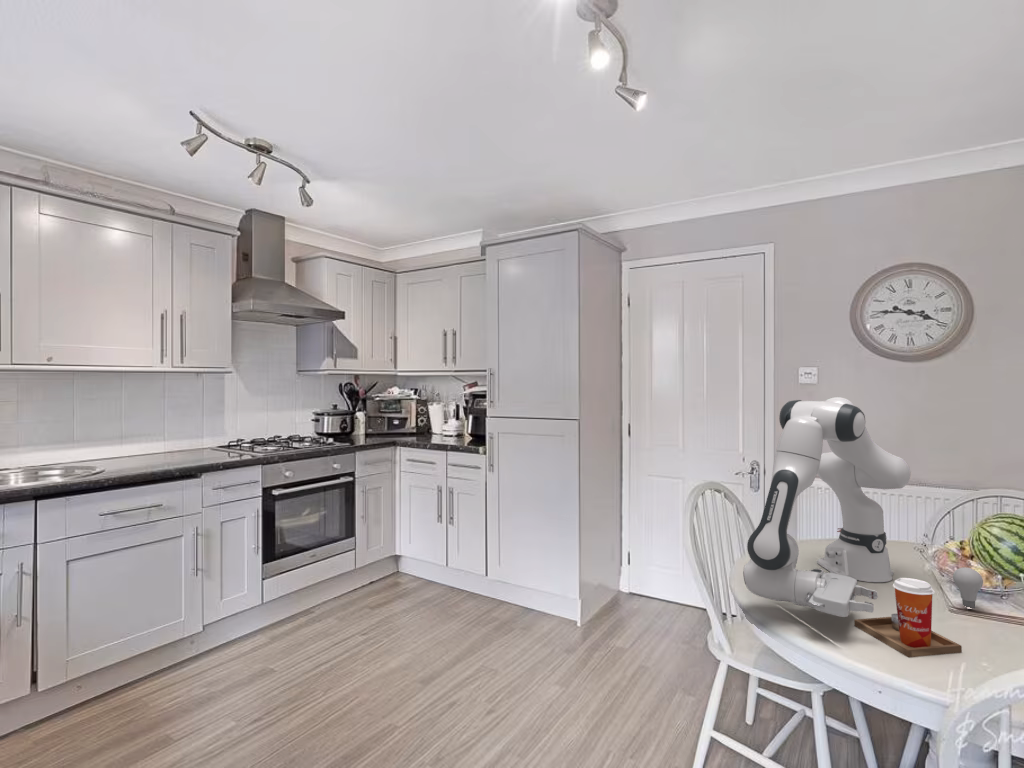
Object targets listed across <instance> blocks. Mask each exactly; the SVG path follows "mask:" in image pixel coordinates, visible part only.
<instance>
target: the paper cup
mask: <svg viewBox="0 0 1024 768" xmlns="http://www.w3.org/2000/svg"><path fill="white" fill-rule="evenodd" d="M892 587H893V588H894V596H895V597H894V598H895V604H896V614H897V615H898V624H899V633H900V639H901V642H902V643H903V644H905V645H907V646H910V647H913V648H918V647H929V646H931V631H932V623H933V622H932V621H933V619H932V618H933V617H932V615H933V595H934V594H935V593H936V592H935V590H934V589H933V587H932V585H931V584H930V583H929V582H927V581H925V580H922V579H916V578H913V577H912V578H909V577H899V578H897V579H895V580H894V582H893V584H892Z"/></svg>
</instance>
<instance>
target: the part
mask: <svg viewBox="0 0 1024 768" xmlns="http://www.w3.org/2000/svg"><path fill="white" fill-rule="evenodd" d="M890 617H892V628H893V629H894V630H897V631H899V624H898V615H897V613H892V614H891V616H890Z"/></svg>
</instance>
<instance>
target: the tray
mask: <svg viewBox="0 0 1024 768" xmlns="http://www.w3.org/2000/svg"><path fill="white" fill-rule="evenodd" d="M853 623H854V627H855V628H858V629H860V630H861V631H863V632H864V633H866V634H867V635H870V636H871V637H873V638H874V639H876V640H878V641H880V642H882V643H883V644H885V645H886V646H888V647H890V648H892V649H894V650H895V651H897V652H899V653H900V654H902V655H904V656H905V657H907V658H916V657H917V658H918V657H927V656H928V657H929V656H940V655H949V654H950V655H952V654H962V653H963V652H962V651H963V649H962V648H963V646H962V645H961V644H960V643H957V642H956V641H953V640H951V639H949V638H947V637H945V636H943V635H942V634H940V633H937V632H936V631H933V630H931V646H929V647H918V648H913V647H910V646H907V645H905V644H903V643H902V642H901V639H900V633H899V631H897V630H894V629H893V628H892V616H883V617H870V618H858V619H857V618H856V619H854V622H853Z"/></svg>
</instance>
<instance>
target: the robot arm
mask: <svg viewBox="0 0 1024 768" xmlns="http://www.w3.org/2000/svg"><path fill="white" fill-rule="evenodd" d="M778 416H779V425H780V427H781V429H782V432H781V434H780V436H779V438H778V443H777V447H776V450H775V455H774V460H773V467H772V474H771V480H770V481H771V482H770V488H769V490H768V494H767V497H766V502H765V505H764V508H763V512H762V516H761V519H760V522H759V524H758V525H757V526H756V528H755V529H754V531H753V532H752V533H751V535H750V536H749V537H748V540H747V542H746V543H747V544H746V547H747V549H746V550H747V553H748V556H749V558H750V559H749V560H748V562H746V564H744V567H743V572H742V574H743V581H744V584H745V586H746V588H747V590H748V591H749V592H750V593H752V594H754V595H755V596H758V597H761V598H765V599H767V600H772V601H778V602H789V603H792V604H794V605H797V606H801V607H805V608H806V607H807V608H810V609H813V610H816V611H818V612H821V613H824V614H828V615H832V616H836V617H839V618H840V617H842V618H845V617H849V614H850V612H868V613H873V612H874V610H875V607H874V603H873V602H869V601H864V602H862V601H856V600H855V599H856V596H860V597H861V596H864V597H867V598H868V599H870V600H877V599H878V591H877V590H874V589H870V588H867V587H864V586H861V585H858V581H860V582H868V583H887V582H890V581H892V580H893V578H894V577H893V575H894V573H895V572H894V570H893V569H891V562H890V556H889V555H890V554H889V549H888V547H886V545H887V540H888V539H887V538H888V537H887V533H886V532H885V521H884V519H885V518H884V510H883V507H882V506H881V505H880V504H879V503H878V502H877V501H876V500H874V499H872V498H870V497H869V496H867V495H866V494H865V492H864V491H863V490H862V488H866V489H867V488H868V489H877V490H898V489H900V490H901V489H903V488H904V487H905V486H907V485H908V483H909V481H910V479H911V469H910V466H909V464H908V463H907V461H906V460H905V459H904V458H903V457H901V456H897V455H894V454H893V453H890V452H889V451H887V450H885V449H884V448H882V447H881V446H880V445H878V444H877V443H876V442H875V441H874V440H873V439H872V437H871V436H870V434H869V431H868V430H867V429H868V428H867V427H866V415H865V413H864V412H863V411H862V409H861V408H860V407H859V406H856V405H854V403H853V402H852V401H851V400H850V399H848V398H845V397H840V396H834V397H831V398H828V399H825V400H801V399H796V400H789V401H788V402H786V403H785V404H784V405H783V406H782V407H781V409H780V411H779V415H778ZM825 440H826V442H827V444H828V447H829V449H830V450H831V451H829V452H823V446H824V442H823V441H825ZM817 476H818V477H819V478H820V480H821V481H822V482H824V483H826V485H828V486H829V487H830V488H831V490H832V491H833V492H834V494H835V495H836V497H837V499H838V502H839V504H840V510H841V517H842V518H841V520H842V527H841V528H837V531H836V532H838V533H839V536H838V538H837V539H836V540H834V541H833V542H831V543H829V544H828V545H826V547H825V550H824V557H821V558H820V557H819V558H818V559H816V563H817V565H820V566H821V567H823V568H824V569H825V570H827V571H829V572H825V571H824V569H821V568H813V569H811V570H804V569H803V570H802V569H797V568H796V567H797V562H798V558H799V551H800V550H799V546H798V543H797V541H796V540H795V538H793V536H791V535H790V534H789V533H788V529H789V524H790V520H791V517H792V512H793V508H794V505H795V503H796V500H797V498H798V497H799V496H800V494H801V493H803V492H804V491H805V490H807V489H808V488H810V487H811V486H812V485H813V484H814V481H815V480H816V477H817Z"/></svg>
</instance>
